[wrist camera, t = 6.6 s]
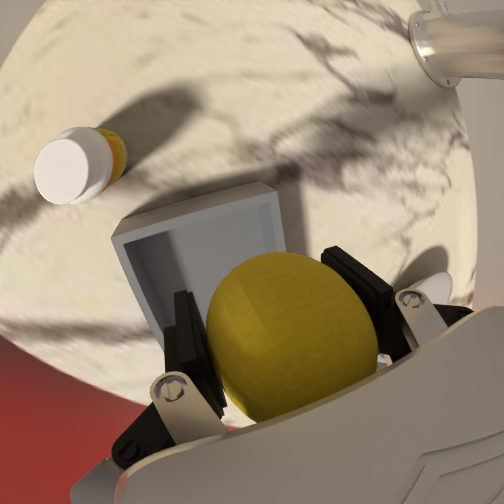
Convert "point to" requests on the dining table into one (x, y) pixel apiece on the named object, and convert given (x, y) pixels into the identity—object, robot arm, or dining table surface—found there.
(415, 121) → the dining table surface
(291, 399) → the lemon
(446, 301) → the dish
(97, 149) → the supplement bottle
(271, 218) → the tote
